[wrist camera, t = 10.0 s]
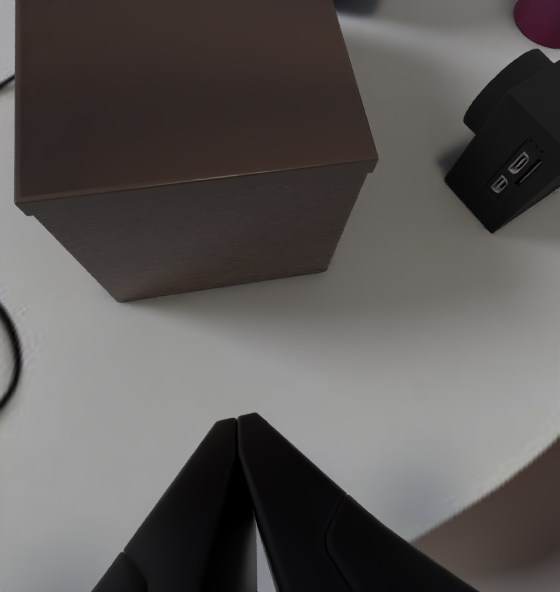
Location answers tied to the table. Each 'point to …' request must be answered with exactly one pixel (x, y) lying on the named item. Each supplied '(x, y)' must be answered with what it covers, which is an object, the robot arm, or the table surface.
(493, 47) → the table surface
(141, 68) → the brown box
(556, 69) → the digital camera
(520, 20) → the cup
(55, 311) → the table surface
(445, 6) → the table surface
